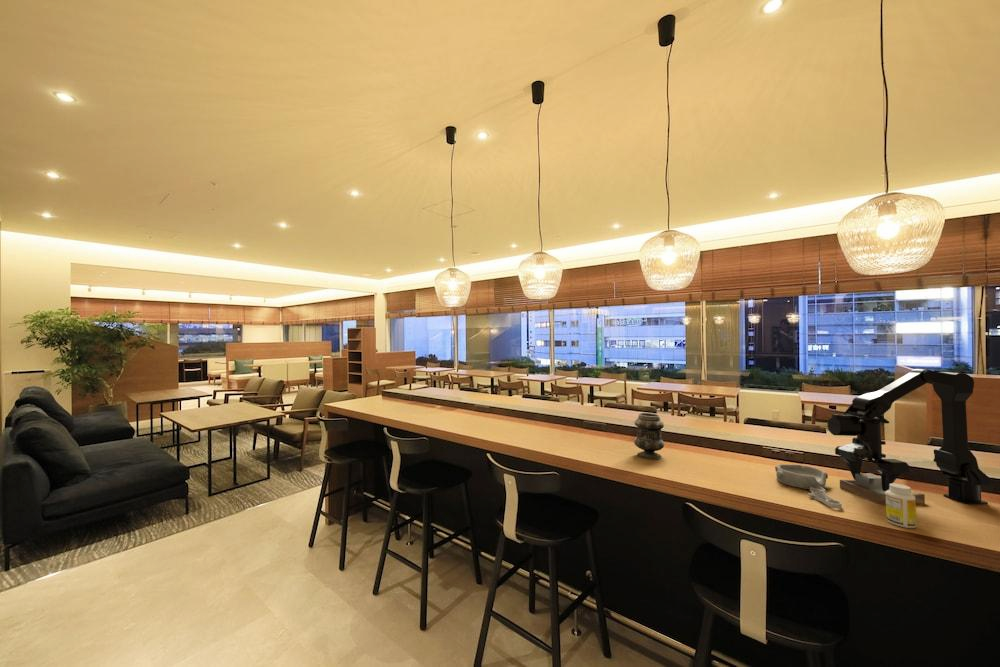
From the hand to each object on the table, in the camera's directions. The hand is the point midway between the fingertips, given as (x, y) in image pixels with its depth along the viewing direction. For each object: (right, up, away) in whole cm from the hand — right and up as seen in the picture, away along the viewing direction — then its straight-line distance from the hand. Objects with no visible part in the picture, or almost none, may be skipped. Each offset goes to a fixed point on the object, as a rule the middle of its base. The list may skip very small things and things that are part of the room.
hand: (870, 485), depth 120 cm
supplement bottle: (-11, -3, -19) cm, 22 cm away
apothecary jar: (-55, -4, +41) cm, 68 cm away
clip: (0, -2, 0) cm, 2 cm away
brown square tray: (+3, -3, 0) cm, 4 cm away
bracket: (-18, -3, -3) cm, 18 cm away
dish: (-15, -4, +10) cm, 18 cm away
